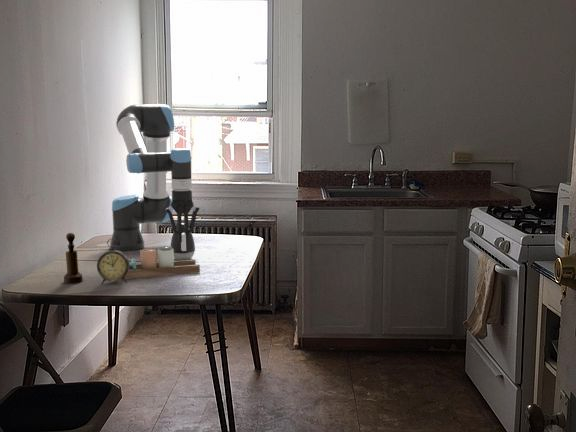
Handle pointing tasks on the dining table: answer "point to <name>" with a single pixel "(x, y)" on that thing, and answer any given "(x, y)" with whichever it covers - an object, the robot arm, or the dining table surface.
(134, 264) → the pusher
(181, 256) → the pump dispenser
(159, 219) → the robot arm
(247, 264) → the dining table surface
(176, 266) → the lane
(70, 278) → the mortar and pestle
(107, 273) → the alarm clock
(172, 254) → the jar
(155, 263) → the jar in lane
